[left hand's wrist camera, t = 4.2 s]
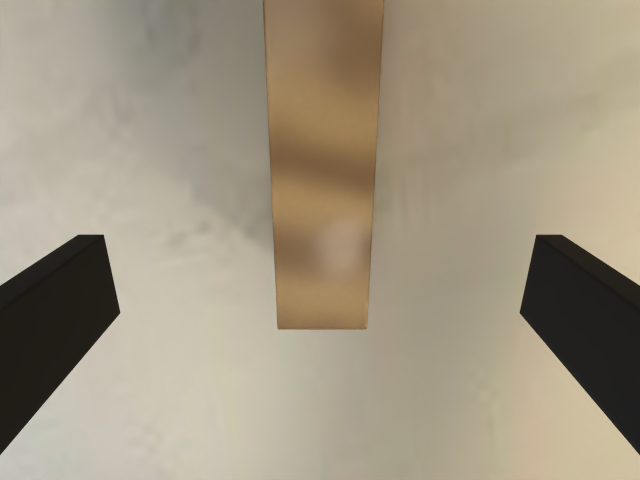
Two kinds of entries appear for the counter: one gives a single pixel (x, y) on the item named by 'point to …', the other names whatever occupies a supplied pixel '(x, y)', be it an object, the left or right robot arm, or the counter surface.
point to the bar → (322, 156)
